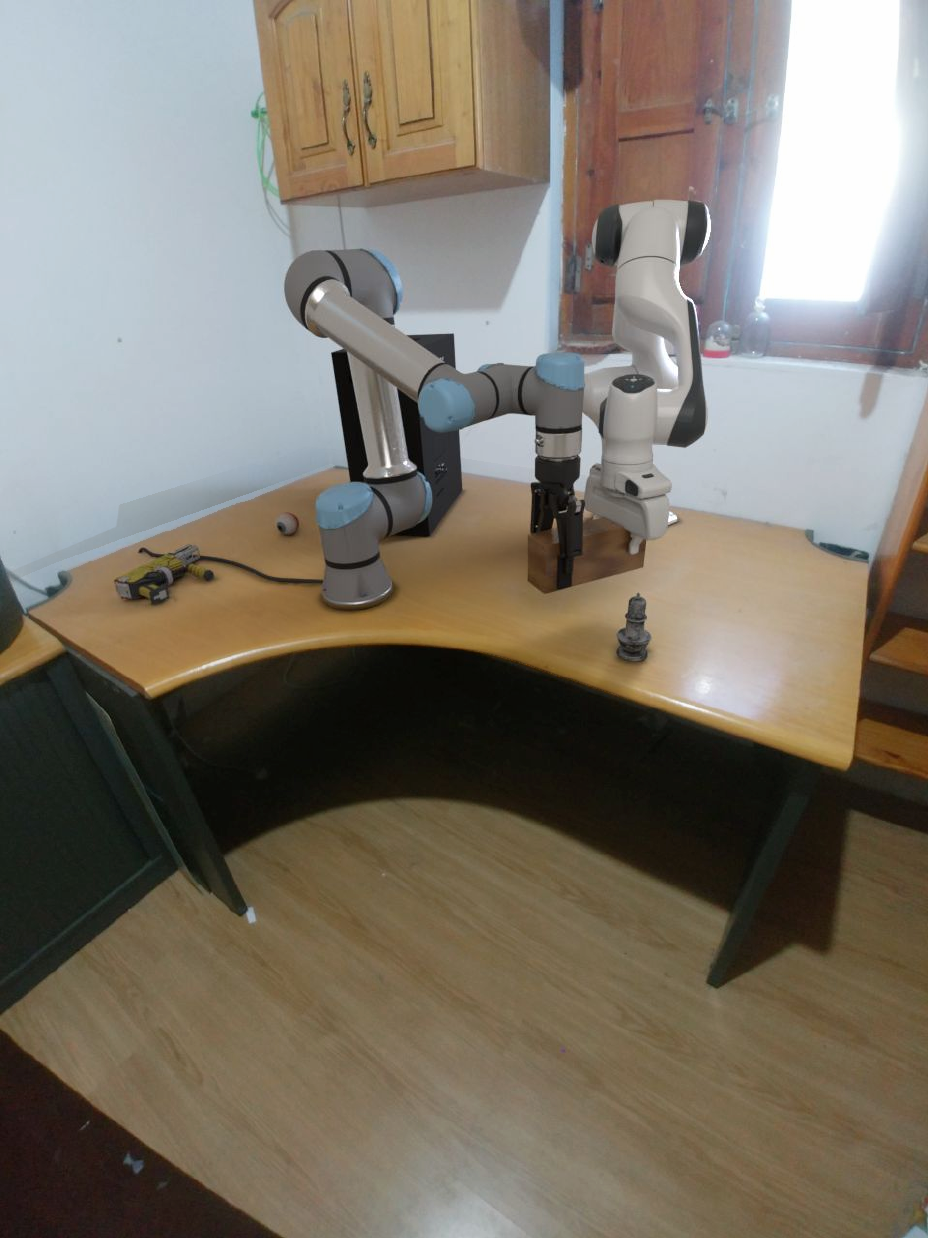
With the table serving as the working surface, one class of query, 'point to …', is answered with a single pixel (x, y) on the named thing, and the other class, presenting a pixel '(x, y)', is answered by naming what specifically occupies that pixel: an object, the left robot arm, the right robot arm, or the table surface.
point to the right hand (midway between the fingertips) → (619, 545)
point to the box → (583, 555)
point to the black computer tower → (407, 436)
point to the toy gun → (160, 575)
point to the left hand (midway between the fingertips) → (554, 580)
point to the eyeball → (287, 523)
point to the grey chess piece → (634, 631)
